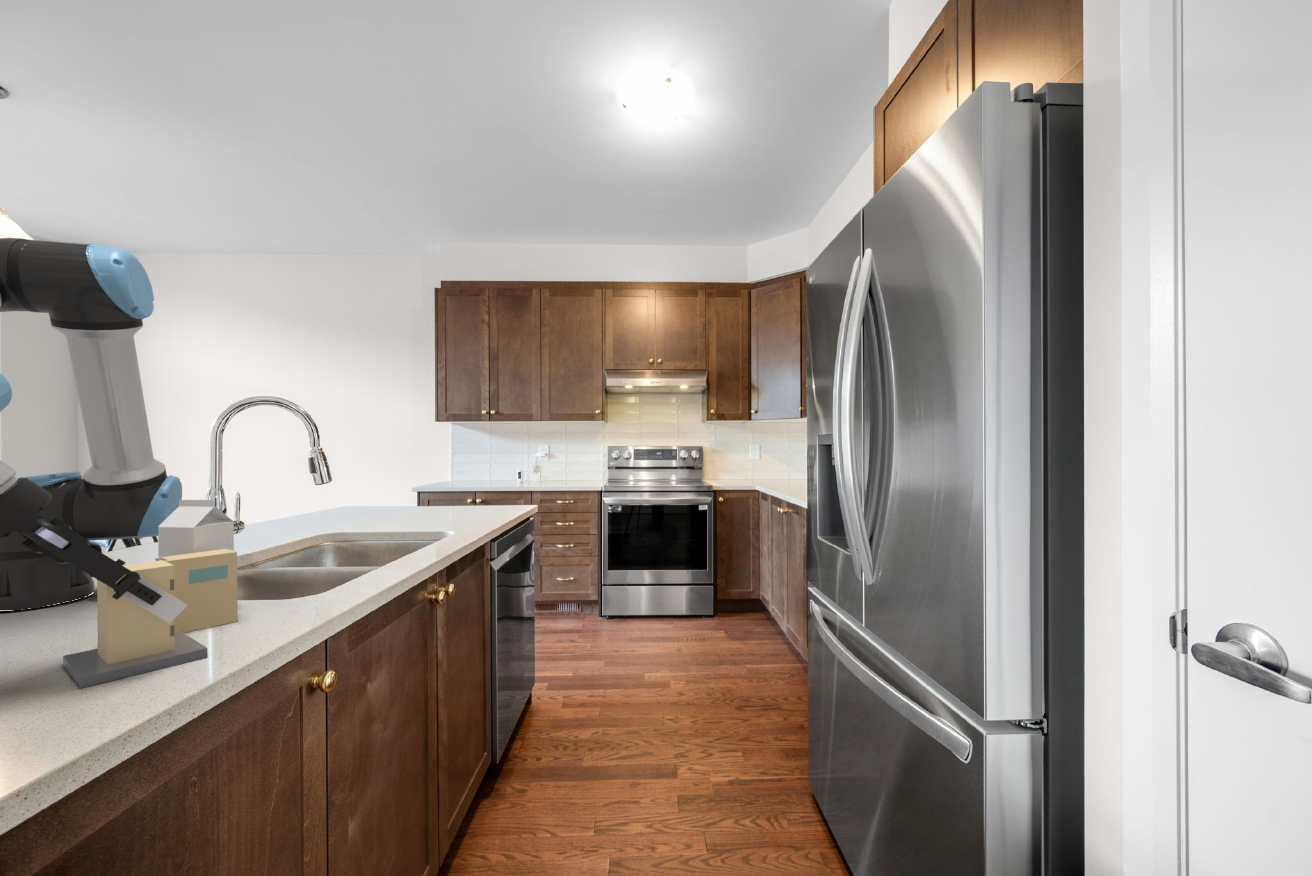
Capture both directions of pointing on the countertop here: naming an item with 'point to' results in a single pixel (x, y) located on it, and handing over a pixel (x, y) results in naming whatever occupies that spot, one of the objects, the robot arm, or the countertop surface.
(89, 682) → the plate
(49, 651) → the countertop surface
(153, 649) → the tan rectangular block
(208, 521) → the milk carton
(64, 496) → the robot arm
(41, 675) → the countertop surface
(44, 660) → the countertop surface
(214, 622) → the cardboard shipping box
